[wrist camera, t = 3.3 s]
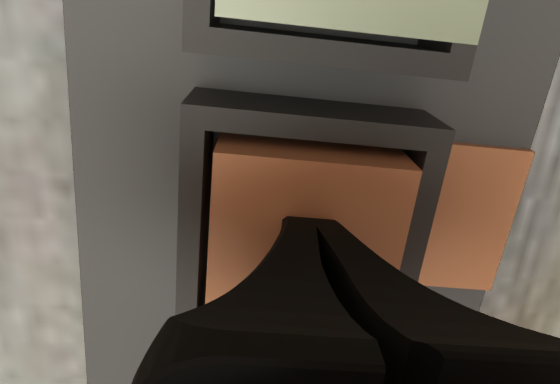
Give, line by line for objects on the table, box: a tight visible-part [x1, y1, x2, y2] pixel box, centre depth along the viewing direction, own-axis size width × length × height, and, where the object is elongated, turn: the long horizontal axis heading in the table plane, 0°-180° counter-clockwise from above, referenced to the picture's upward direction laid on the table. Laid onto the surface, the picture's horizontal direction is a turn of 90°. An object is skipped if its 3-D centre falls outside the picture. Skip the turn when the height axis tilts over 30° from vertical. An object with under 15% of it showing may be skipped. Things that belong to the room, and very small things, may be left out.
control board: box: [63, 0, 560, 384], centre depth 15 cm, size 14×27×4 cm, turn 174°
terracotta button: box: [205, 132, 422, 304], centre depth 13 cm, size 5×5×3 cm
